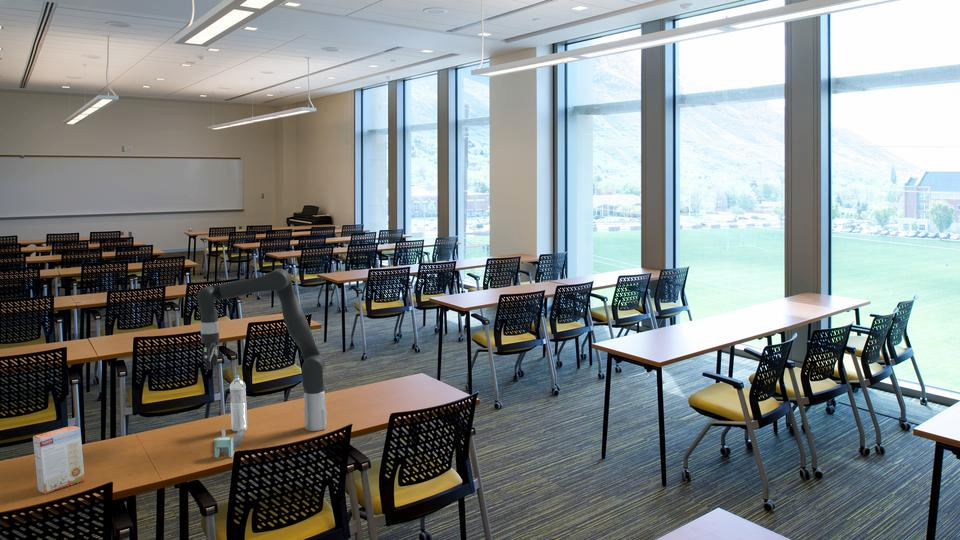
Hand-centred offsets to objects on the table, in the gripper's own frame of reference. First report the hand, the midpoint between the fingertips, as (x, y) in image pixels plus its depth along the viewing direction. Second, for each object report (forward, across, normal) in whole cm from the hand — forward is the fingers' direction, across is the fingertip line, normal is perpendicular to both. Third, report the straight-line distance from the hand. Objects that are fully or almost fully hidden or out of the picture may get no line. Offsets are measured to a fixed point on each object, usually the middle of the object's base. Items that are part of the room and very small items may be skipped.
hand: (211, 367), depth 307 cm
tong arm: (+29, -19, -10) cm, 36 cm away
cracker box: (+30, -57, +37) cm, 74 cm away
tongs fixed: (+29, -20, -14) cm, 38 cm away
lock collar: (+29, -32, -14) cm, 45 cm away
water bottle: (+30, 0, -11) cm, 31 cm away
